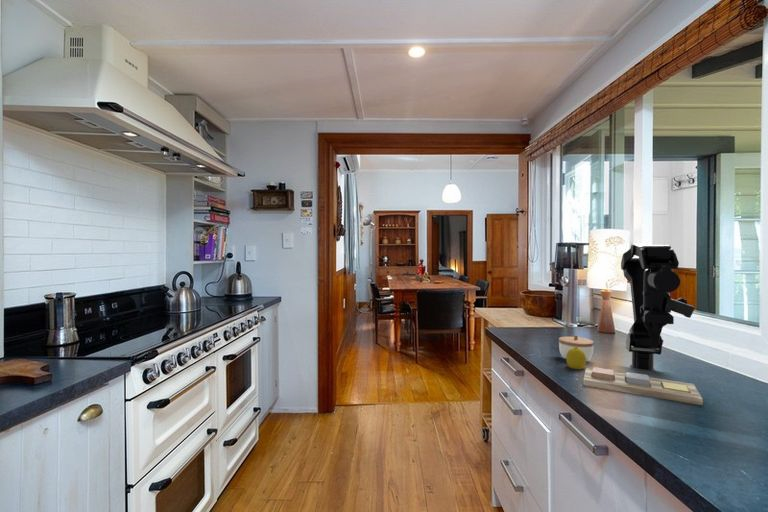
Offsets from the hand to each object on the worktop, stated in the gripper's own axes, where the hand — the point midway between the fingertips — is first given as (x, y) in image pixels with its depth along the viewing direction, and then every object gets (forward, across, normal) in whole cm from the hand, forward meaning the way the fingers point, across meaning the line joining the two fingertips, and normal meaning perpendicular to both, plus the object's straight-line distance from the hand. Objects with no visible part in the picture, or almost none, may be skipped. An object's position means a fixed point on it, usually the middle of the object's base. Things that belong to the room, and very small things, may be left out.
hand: (655, 343), depth 104 cm
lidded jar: (+12, +13, +21) cm, 28 cm away
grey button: (+10, -10, +4) cm, 15 cm away
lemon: (+12, +1, +20) cm, 23 cm away
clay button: (+10, -10, +12) cm, 19 cm away
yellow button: (+12, -10, -4) cm, 15 cm away
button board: (+12, -10, +4) cm, 16 cm away
